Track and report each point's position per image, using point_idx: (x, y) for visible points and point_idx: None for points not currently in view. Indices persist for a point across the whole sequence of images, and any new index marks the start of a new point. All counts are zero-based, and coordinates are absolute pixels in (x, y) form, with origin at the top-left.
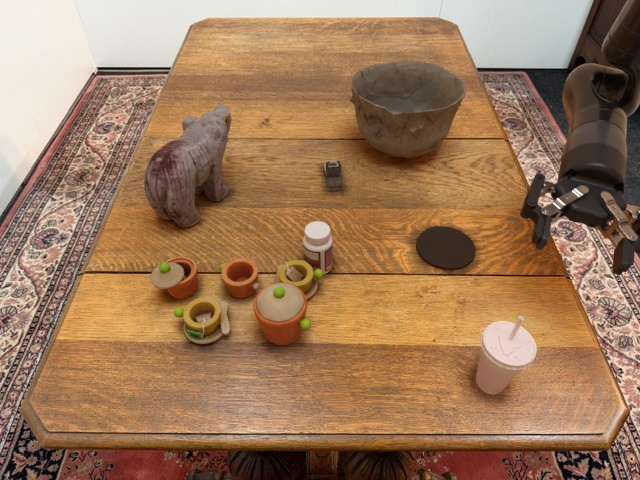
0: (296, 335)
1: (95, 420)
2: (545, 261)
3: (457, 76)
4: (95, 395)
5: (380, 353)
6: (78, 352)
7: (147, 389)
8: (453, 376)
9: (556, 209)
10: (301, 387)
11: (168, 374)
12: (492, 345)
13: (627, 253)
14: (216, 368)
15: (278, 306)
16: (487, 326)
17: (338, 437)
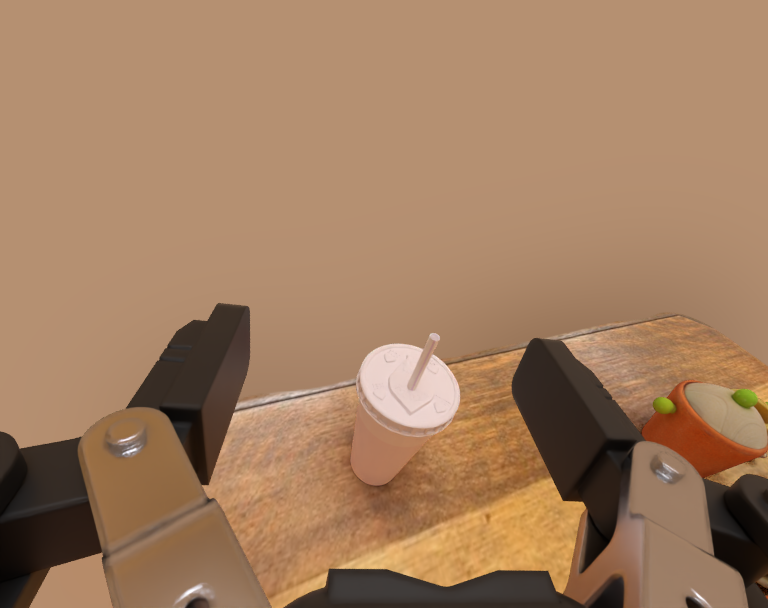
0: (650, 427)
1: (669, 325)
2: None
3: None
4: (694, 341)
5: (542, 458)
6: (754, 369)
7: (675, 352)
8: (430, 453)
9: (642, 496)
10: None
11: (681, 368)
12: (436, 369)
13: (208, 336)
14: (660, 384)
15: (716, 386)
16: (458, 405)
17: (508, 347)
